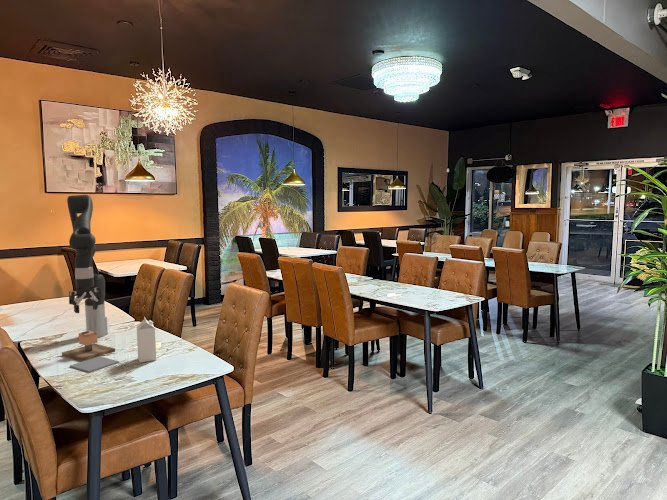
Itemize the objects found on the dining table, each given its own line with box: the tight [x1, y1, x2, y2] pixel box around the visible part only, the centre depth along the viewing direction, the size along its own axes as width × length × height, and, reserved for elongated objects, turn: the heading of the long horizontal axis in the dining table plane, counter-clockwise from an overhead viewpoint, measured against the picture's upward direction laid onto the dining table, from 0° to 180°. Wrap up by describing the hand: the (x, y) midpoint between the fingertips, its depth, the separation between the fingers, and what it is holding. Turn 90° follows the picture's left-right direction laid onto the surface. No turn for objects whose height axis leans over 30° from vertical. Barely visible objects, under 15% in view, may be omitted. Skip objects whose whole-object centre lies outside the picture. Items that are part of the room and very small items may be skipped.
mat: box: [69, 356, 120, 373], centre depth 201 cm, size 14×14×1 cm
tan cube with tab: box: [78, 331, 99, 346], centre depth 216 cm, size 6×6×6 cm
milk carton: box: [136, 316, 157, 363], centre depth 207 cm, size 7×7×19 cm
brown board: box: [61, 343, 116, 362], centre depth 216 cm, size 16×16×9 cm
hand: (86, 311), depth 214 cm, fingers open, 8 cm apart
